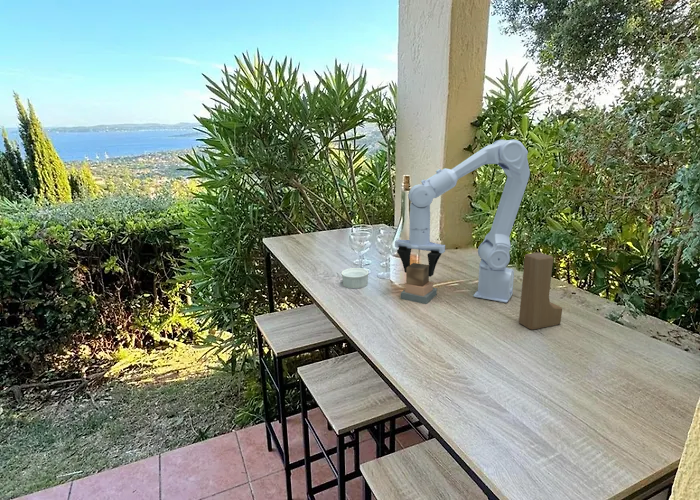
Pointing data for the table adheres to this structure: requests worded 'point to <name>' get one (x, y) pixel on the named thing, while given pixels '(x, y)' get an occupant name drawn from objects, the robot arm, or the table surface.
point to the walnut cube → (417, 274)
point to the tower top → (419, 289)
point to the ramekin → (355, 277)
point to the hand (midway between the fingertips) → (418, 273)
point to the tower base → (419, 298)
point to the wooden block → (538, 293)
